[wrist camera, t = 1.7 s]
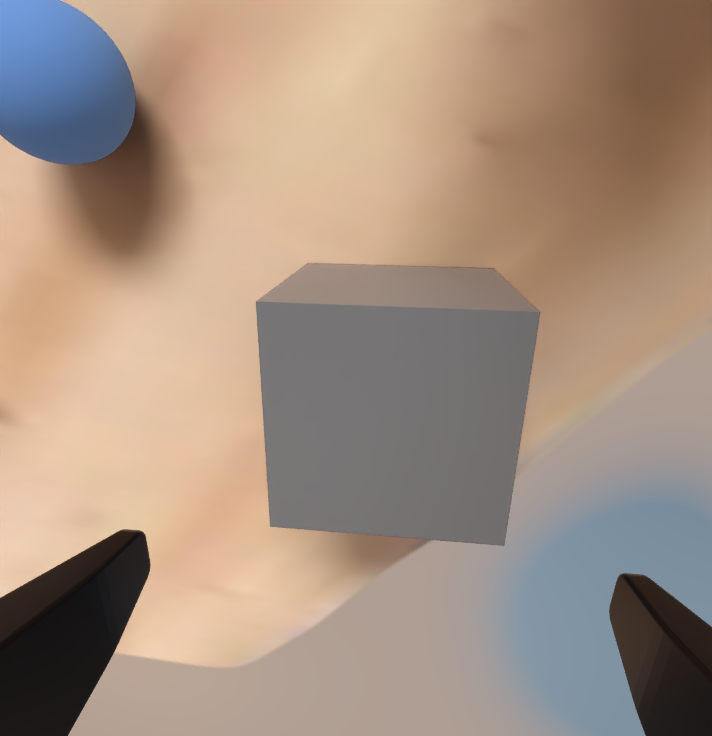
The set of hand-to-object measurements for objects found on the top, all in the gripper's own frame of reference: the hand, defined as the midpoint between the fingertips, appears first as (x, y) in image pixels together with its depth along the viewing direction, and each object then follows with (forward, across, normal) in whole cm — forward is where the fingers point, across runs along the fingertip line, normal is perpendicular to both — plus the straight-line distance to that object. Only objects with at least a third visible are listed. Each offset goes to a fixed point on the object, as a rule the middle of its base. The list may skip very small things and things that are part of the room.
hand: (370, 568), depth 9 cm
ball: (+10, +12, -10) cm, 19 cm away
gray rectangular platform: (+13, 0, 0) cm, 13 cm away
